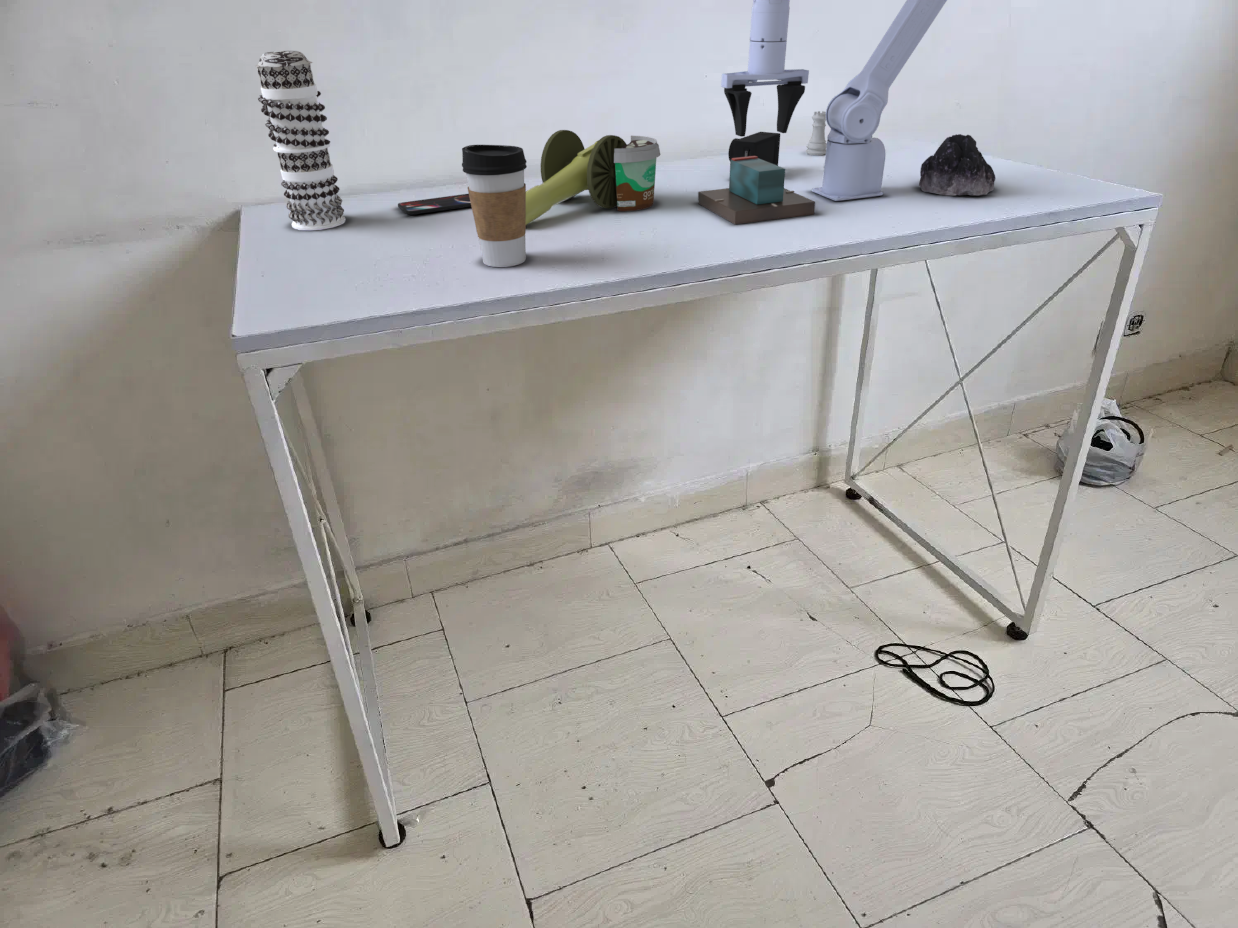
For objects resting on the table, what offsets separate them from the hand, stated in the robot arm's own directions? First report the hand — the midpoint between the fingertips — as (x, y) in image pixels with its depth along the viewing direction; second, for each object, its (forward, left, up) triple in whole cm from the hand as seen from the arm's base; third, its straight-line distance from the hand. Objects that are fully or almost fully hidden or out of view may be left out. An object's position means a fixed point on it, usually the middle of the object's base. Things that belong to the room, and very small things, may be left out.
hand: (761, 134), depth 132 cm
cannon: (+32, -6, -11) cm, 35 cm away
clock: (+4, +6, -10) cm, 12 cm away
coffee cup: (+48, +16, -11) cm, 51 cm away
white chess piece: (-28, -28, -11) cm, 41 cm away
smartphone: (+51, -18, -10) cm, 55 cm away
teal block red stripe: (+4, +6, -8) cm, 11 cm away
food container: (+19, -4, -11) cm, 23 cm away
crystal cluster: (-33, +9, -11) cm, 36 cm away
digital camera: (-7, -16, -11) cm, 21 cm away
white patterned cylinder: (+72, -16, -11) cm, 74 cm away
